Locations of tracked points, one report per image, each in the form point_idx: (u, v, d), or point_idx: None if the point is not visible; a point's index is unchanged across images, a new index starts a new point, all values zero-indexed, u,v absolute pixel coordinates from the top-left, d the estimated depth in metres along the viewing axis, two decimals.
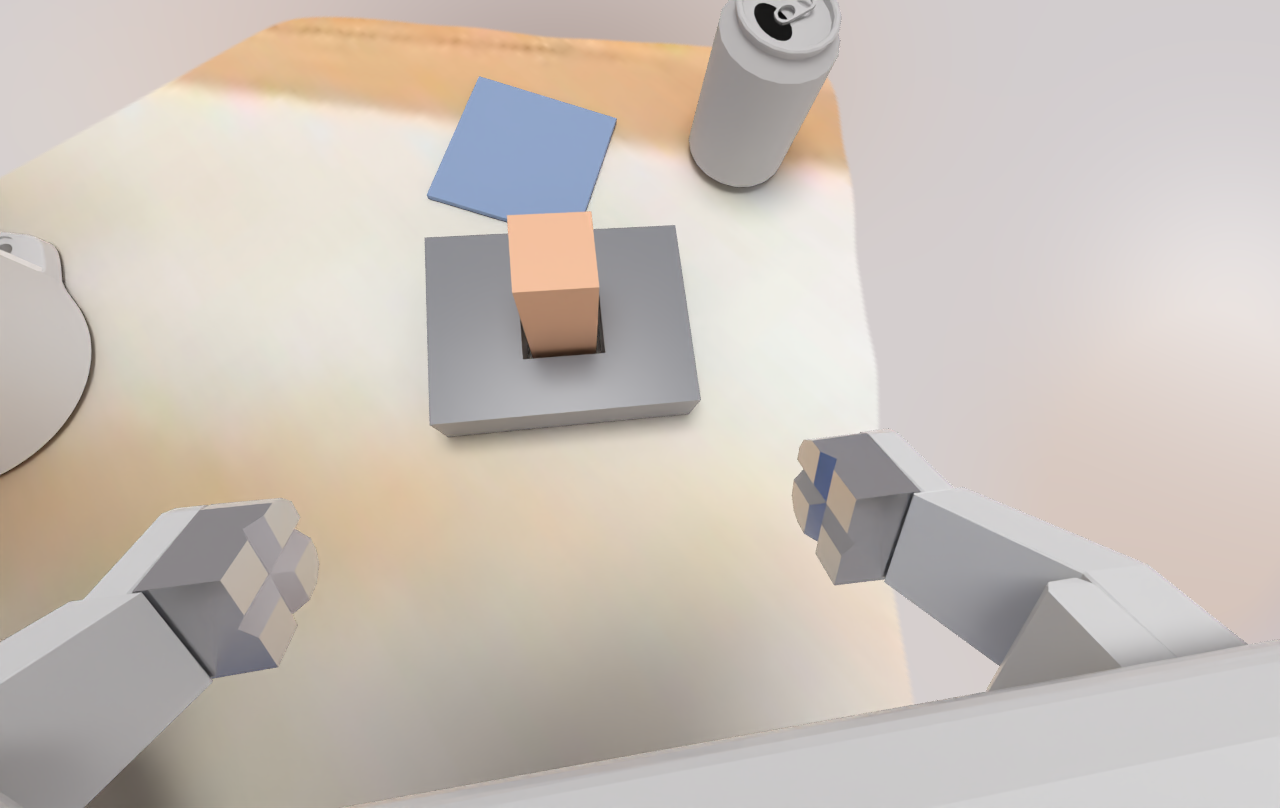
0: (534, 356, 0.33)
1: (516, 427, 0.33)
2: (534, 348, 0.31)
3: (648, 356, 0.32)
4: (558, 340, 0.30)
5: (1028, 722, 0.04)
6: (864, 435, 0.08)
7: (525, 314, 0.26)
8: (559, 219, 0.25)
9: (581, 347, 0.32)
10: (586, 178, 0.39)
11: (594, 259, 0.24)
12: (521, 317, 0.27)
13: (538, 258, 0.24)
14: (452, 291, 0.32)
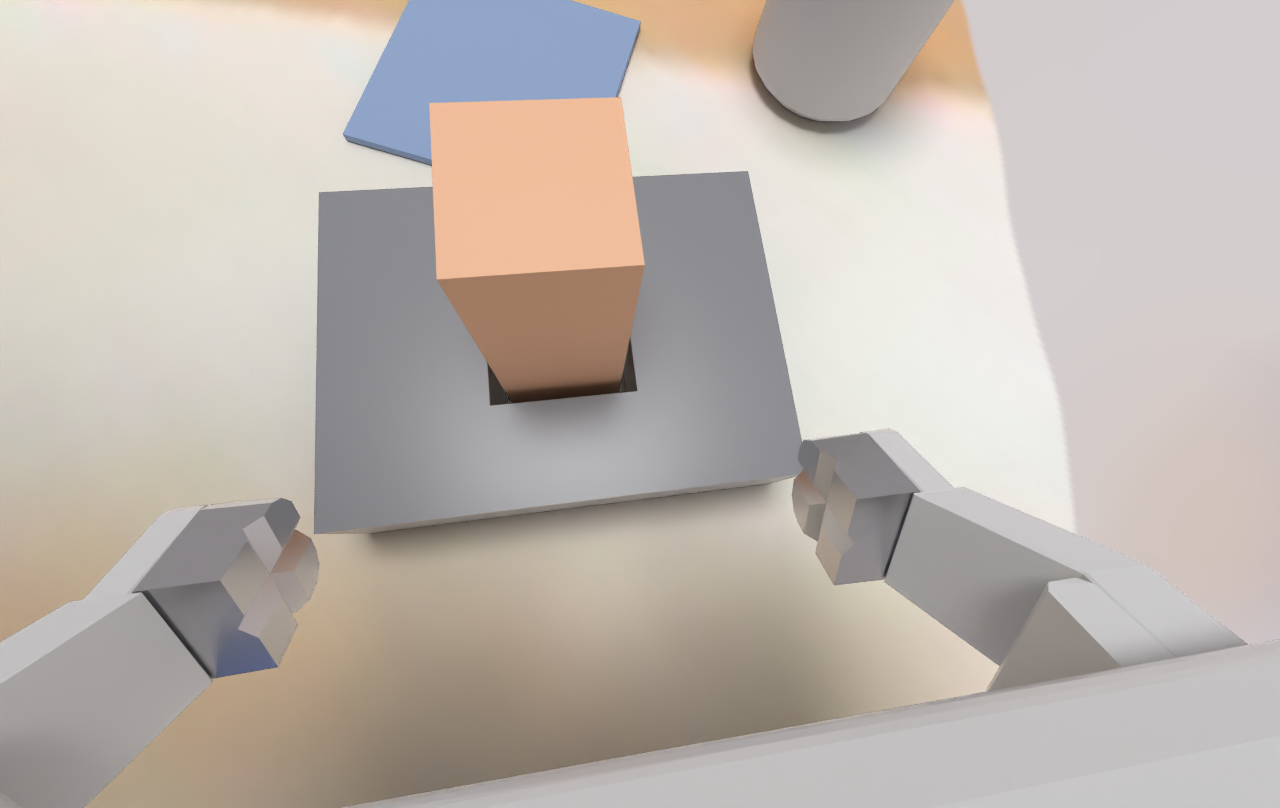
0: (512, 397, 0.19)
1: (483, 518, 0.19)
2: (511, 385, 0.17)
3: (713, 395, 0.18)
4: (554, 373, 0.16)
5: (1028, 722, 0.04)
6: (864, 435, 0.08)
7: (480, 328, 0.12)
8: (550, 114, 0.11)
9: (595, 381, 0.18)
10: None
11: (631, 201, 0.11)
12: (473, 334, 0.13)
13: (500, 198, 0.10)
14: (364, 284, 0.18)
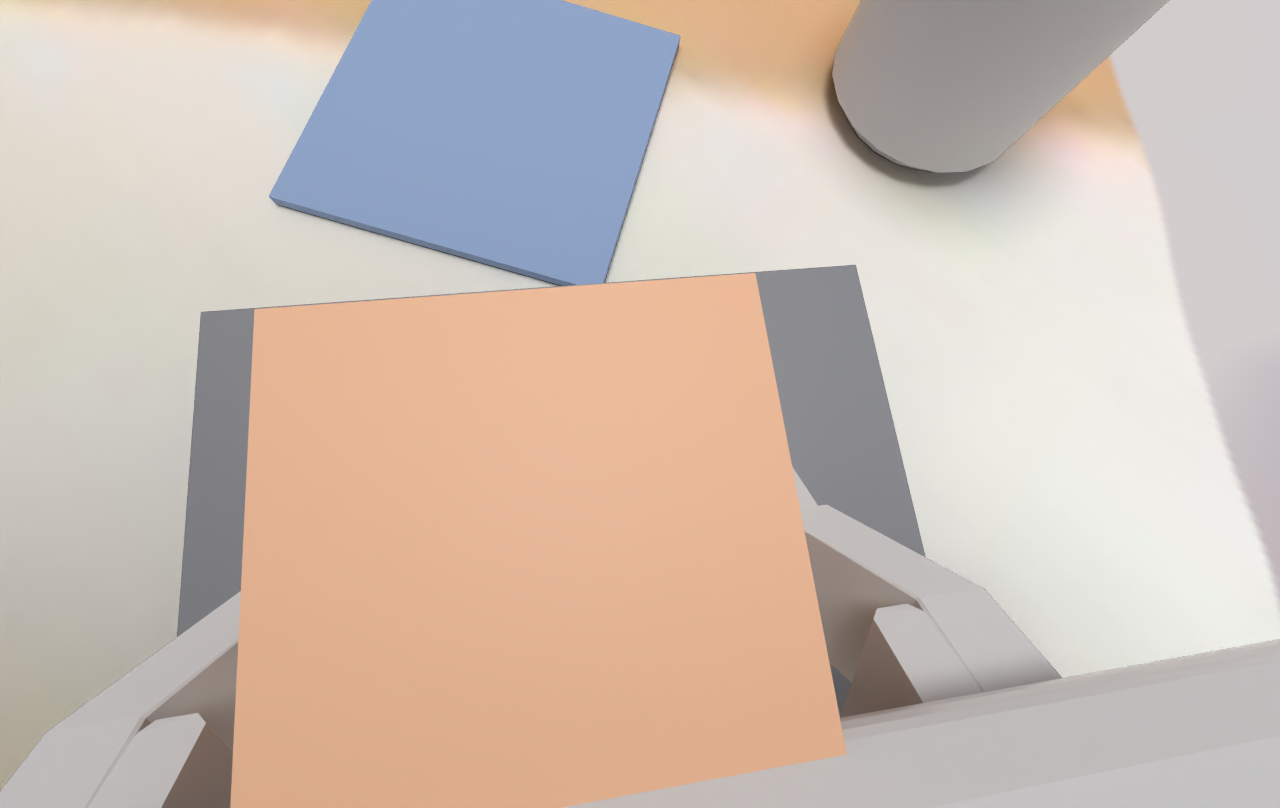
0: None
1: None
2: None
3: None
4: None
5: (1027, 721, 0.04)
6: None
7: None
8: (580, 328, 0.04)
9: None
10: (622, 157, 0.18)
11: (804, 588, 0.04)
12: None
13: (440, 605, 0.04)
14: None
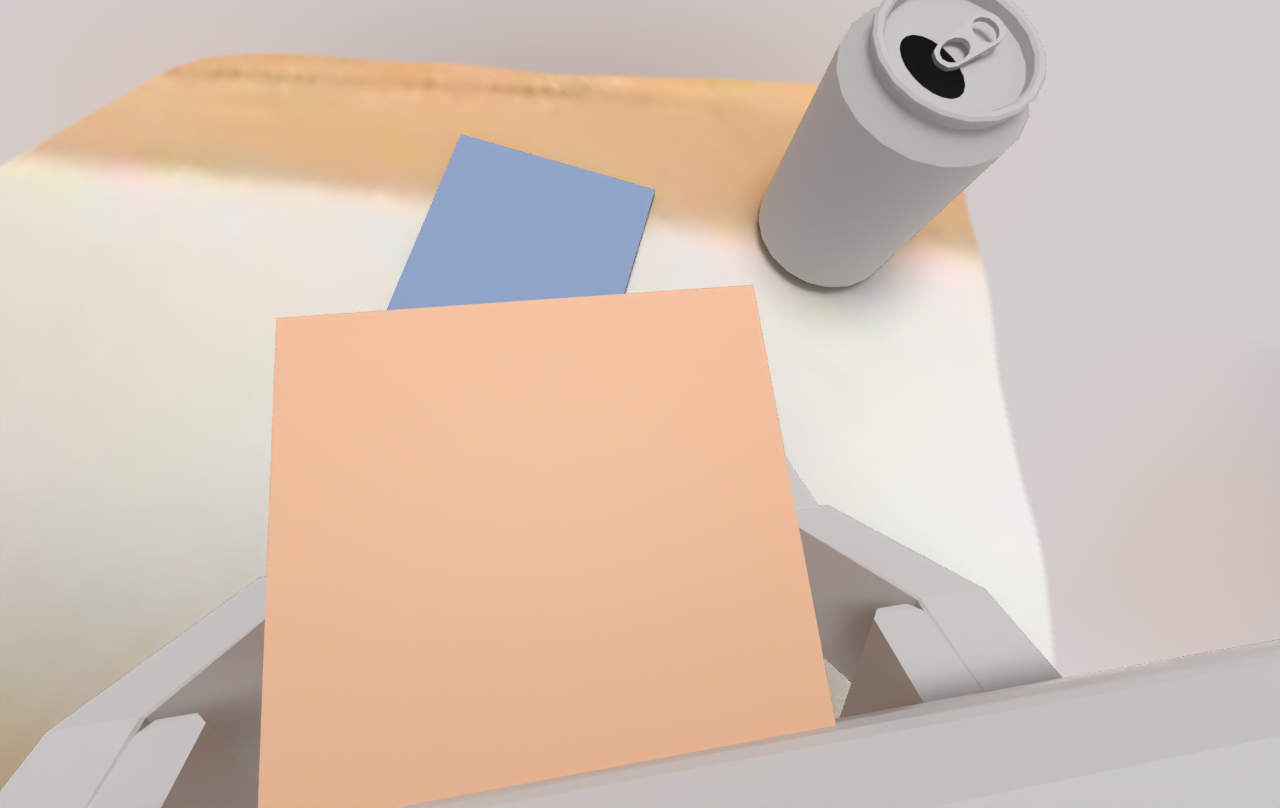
0: None
1: None
2: None
3: None
4: None
5: (1027, 721, 0.04)
6: None
7: None
8: (586, 336, 0.04)
9: None
10: (614, 280, 0.27)
11: (799, 583, 0.04)
12: None
13: (456, 599, 0.04)
14: None
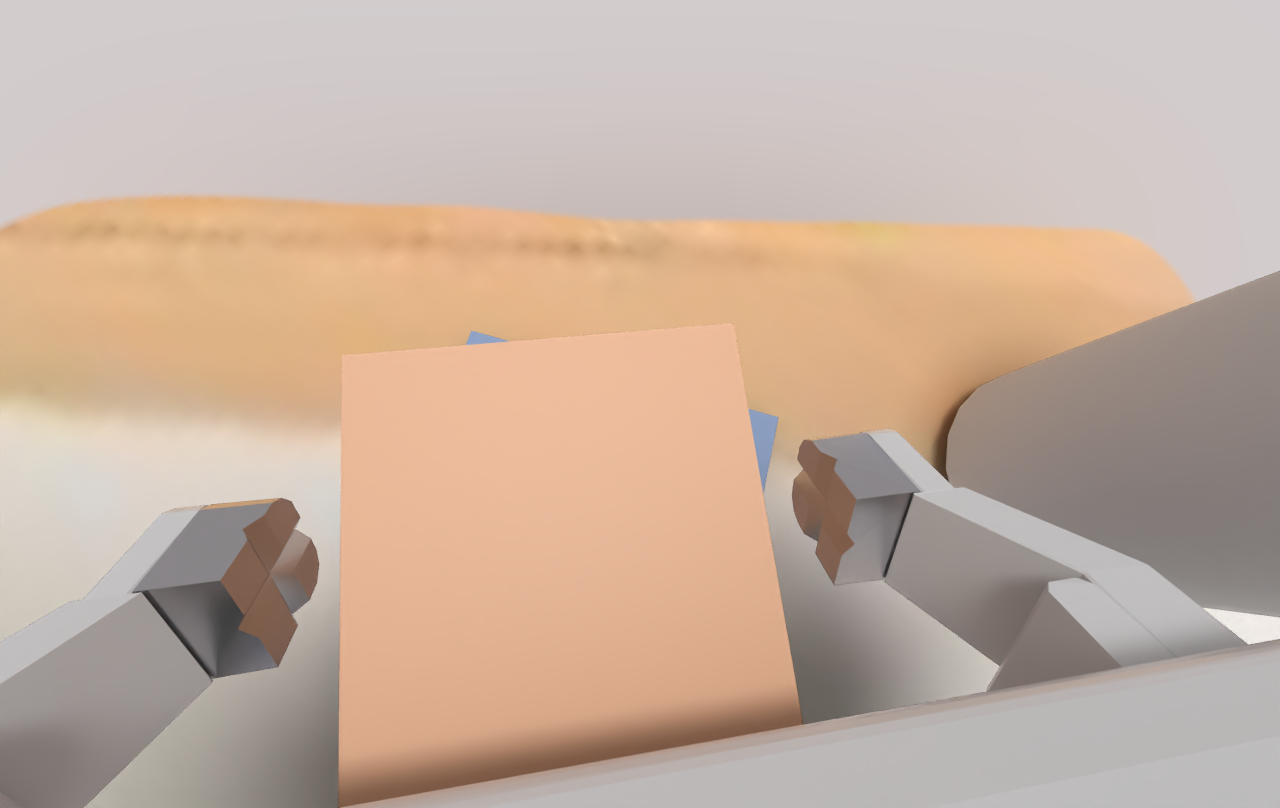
0: None
1: None
2: None
3: None
4: None
5: (1027, 721, 0.04)
6: (864, 435, 0.08)
7: None
8: (594, 368, 0.05)
9: None
10: None
11: (768, 572, 0.05)
12: None
13: (490, 584, 0.05)
14: None
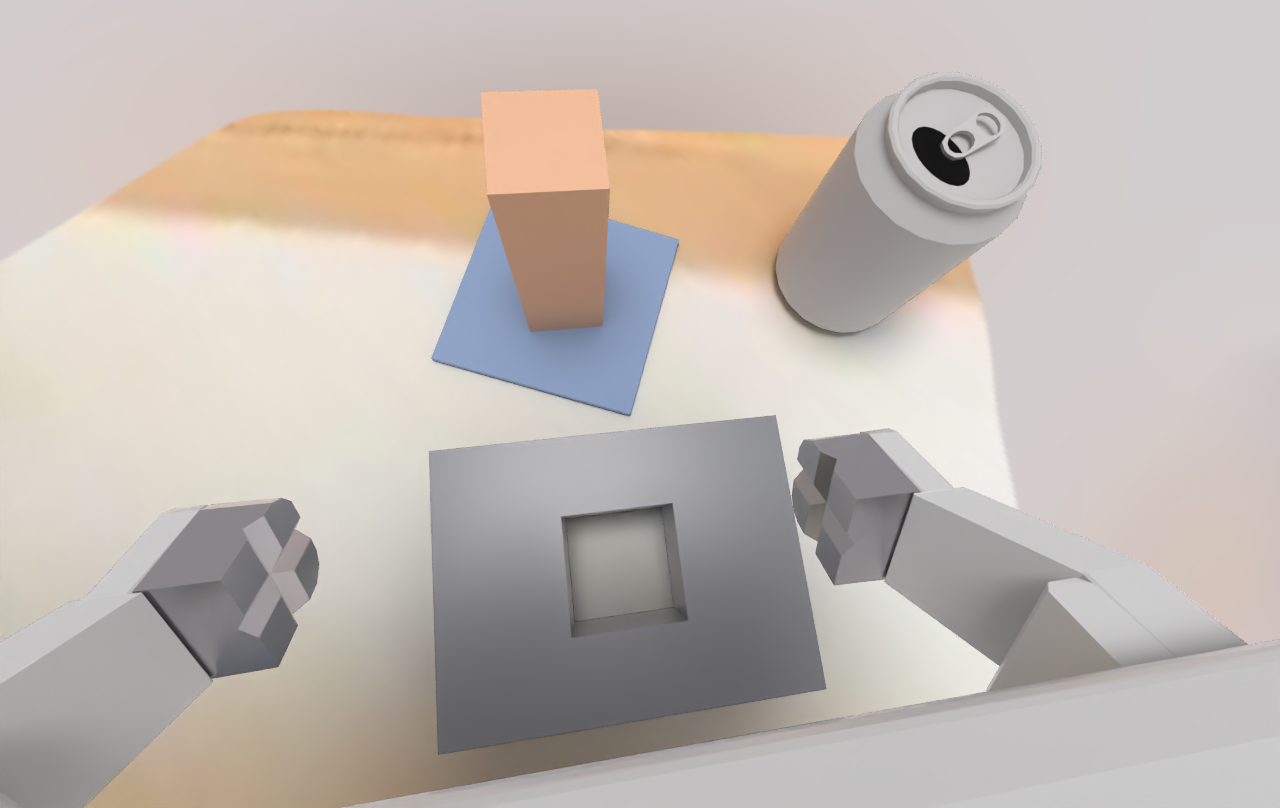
0: (525, 309, 0.26)
1: None
2: (525, 296, 0.24)
3: (749, 622, 0.22)
4: (556, 284, 0.23)
5: (1027, 721, 0.04)
6: (864, 435, 0.08)
7: (509, 236, 0.19)
8: (554, 99, 0.18)
9: (585, 296, 0.25)
10: (643, 325, 0.29)
11: (602, 151, 0.18)
12: (504, 242, 0.20)
13: (524, 148, 0.17)
14: (468, 533, 0.22)
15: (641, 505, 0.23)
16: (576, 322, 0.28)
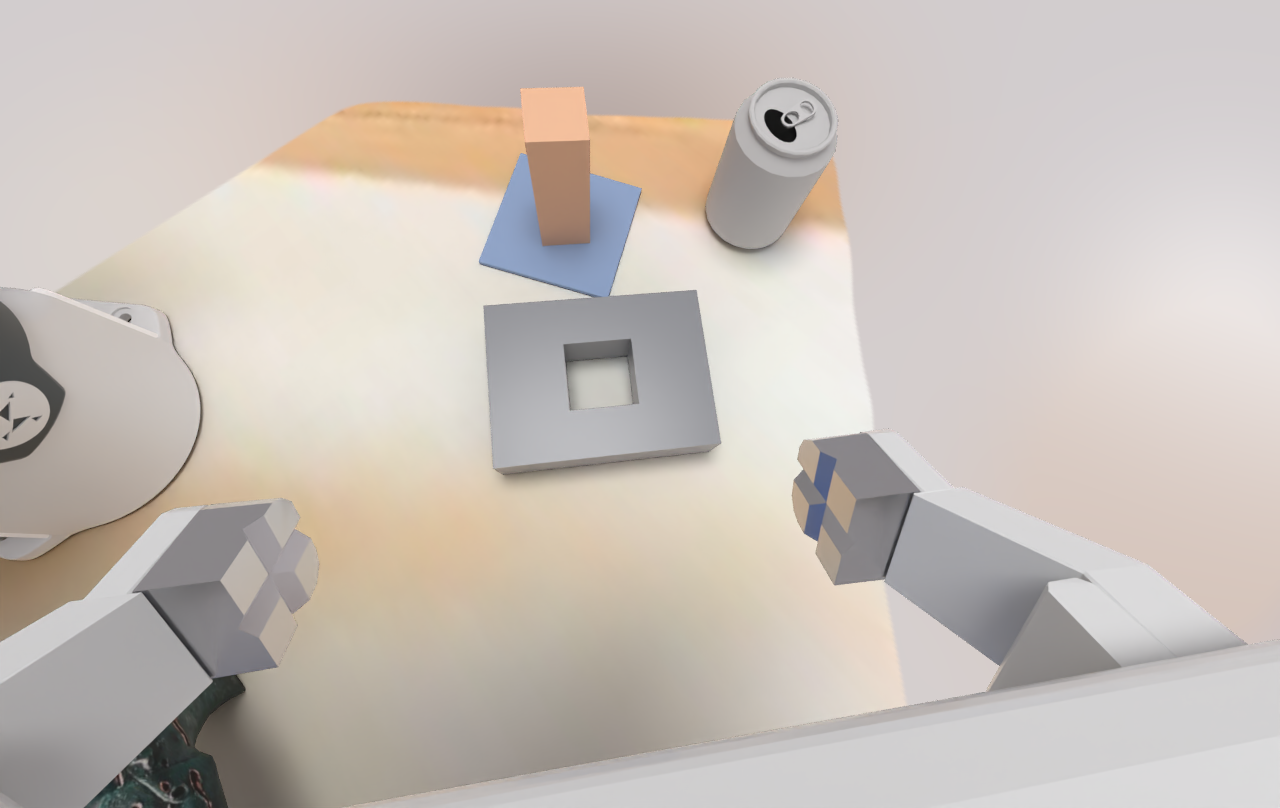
0: (540, 225, 0.41)
1: (562, 466, 0.39)
2: (541, 214, 0.39)
3: (676, 405, 0.38)
4: (559, 206, 0.39)
5: (1027, 722, 0.04)
6: (864, 435, 0.08)
7: (534, 169, 0.34)
8: (560, 92, 0.33)
9: (578, 216, 0.40)
10: (616, 243, 0.44)
11: (586, 120, 0.33)
12: (531, 173, 0.35)
13: (544, 118, 0.32)
14: (508, 352, 0.37)
15: (612, 339, 0.38)
16: (572, 239, 0.43)
